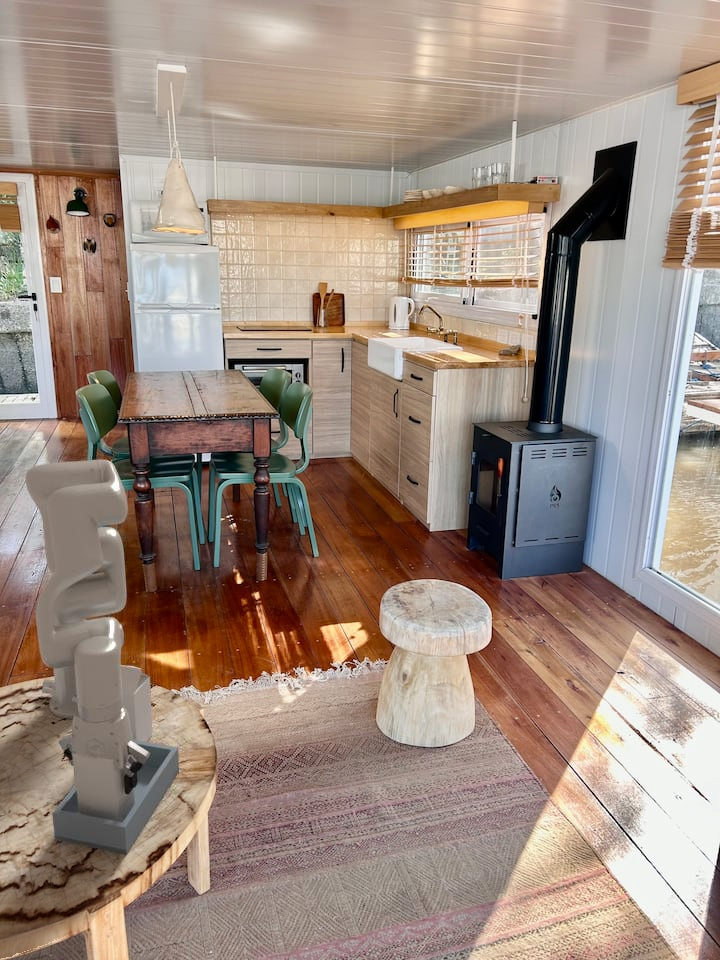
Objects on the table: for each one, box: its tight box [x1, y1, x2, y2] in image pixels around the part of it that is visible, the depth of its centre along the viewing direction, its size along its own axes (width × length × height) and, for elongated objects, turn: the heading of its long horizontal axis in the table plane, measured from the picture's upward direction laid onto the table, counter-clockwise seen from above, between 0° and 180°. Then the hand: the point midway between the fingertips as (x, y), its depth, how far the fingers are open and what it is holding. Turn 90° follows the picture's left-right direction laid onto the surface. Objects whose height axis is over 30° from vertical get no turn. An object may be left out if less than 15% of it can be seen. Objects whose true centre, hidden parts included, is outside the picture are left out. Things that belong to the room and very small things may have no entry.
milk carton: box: [121, 664, 153, 742], centre depth 156 cm, size 7×7×19 cm
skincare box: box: [72, 752, 135, 822], centre depth 135 cm, size 8×7×16 cm
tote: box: [51, 740, 180, 855], centre depth 141 cm, size 14×22×6 cm, turn 169°
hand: (106, 784), depth 135 cm, fingers open, 9 cm apart
